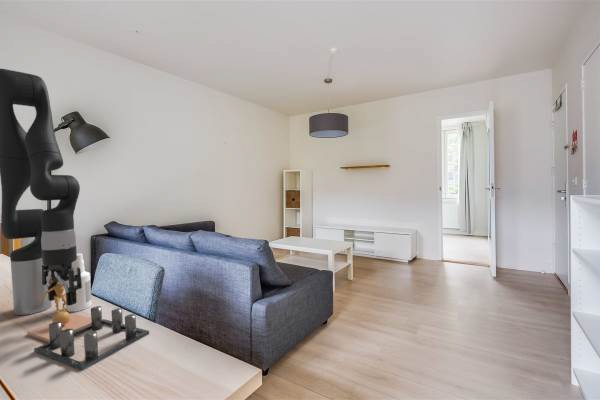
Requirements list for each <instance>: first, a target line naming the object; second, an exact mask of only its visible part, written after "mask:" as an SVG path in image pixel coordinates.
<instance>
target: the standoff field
mask: <svg viewBox="0 0 600 400" xmlns="http://www.w3.org/2000/svg"><path fill="white" fill-rule="evenodd" d="M102 311H103V310H102V306H101V305H98V306H93V307H91V308H90V318H91V325H89V326H86V327H84V328H82V329H79V330H77V331H75V332H73V329H65V330H63V331H62V322H61V321H57V322H53V323H52V322H50V323H51V324H50V323H48V324H49V339H50V342H47V343H44V344H42V345H40V346H37V347H34V348H33V352H34V353H35V354H38V355H41V356H44V357H46V358H48V359H51V360H54V361H56V362H58V363H62V364H64V365H67V366H70V367H73V368H74V369H77V370H81V371H84V370H86V369H87V368H89V367H91V366H93V365H95V364H97V363H99V362H101V361H102V360H104V359H105V358H108V357H110V356H111V355H113V354H115V353H116V352H118V351H121V350H122V349H124V348H126V347H127V346H131V344H134V343H135V342H137V341H139V340H141V339H142V338H144V337H146V336H149V334H150V330H146V329H145V328H144V329H143V328H139V327H137V319H136V318H137V317H136V316H137V315H136V314H135V313H131V314H127V315H125V316H124V321H123V308H119V307H118V308H114V309H112V310H111V320H108V319H106V318H105V319H104V318H103V314H102ZM103 325H105V326H110V327H111V329H112V331H111V332H112V334H119V333H121V332H123V331H124V333H125V341H124V342H122V343H120V344H118V345H116V346H115V347H112V348H110V349H109V350H106V351H105V352H103V353H101V354H99V343H98V332H97V331H100V330H102V329H103ZM90 330H91V331H90ZM87 331H90V332H87ZM85 332H87V333H85ZM83 333H85V334H83ZM80 334H83V342H84V344H83V345H84V347H83V348H84V361H85V362H82V361H79V360H77V359H73V358H71V357H73V356H74V355H75V354H76V353H75V339H74V337H76V336H78V335H80ZM48 348H49V349H50V350H49V349H48ZM56 349H60V353H57V352H54V351H52V350H56Z"/></svg>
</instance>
